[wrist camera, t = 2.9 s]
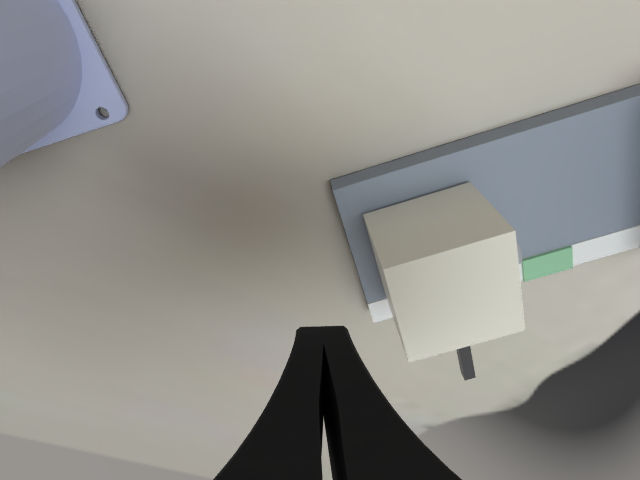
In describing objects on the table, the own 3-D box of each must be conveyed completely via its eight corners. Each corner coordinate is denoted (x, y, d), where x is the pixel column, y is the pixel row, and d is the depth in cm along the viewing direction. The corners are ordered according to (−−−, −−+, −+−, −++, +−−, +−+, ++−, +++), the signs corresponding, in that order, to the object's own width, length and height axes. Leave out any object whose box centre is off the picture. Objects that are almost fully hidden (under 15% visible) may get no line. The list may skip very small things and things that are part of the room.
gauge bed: (369, 308, 26) (374, 326, 25) (329, 180, 22) (333, 192, 21) (680, 218, 25) (702, 232, 24) (697, 65, 21) (725, 72, 20)
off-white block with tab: (396, 333, 25) (419, 401, 21) (362, 214, 22) (383, 269, 18) (503, 303, 25) (546, 366, 21) (487, 176, 21) (537, 224, 17)
